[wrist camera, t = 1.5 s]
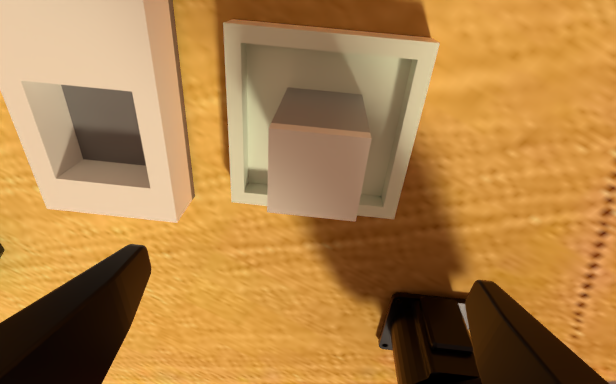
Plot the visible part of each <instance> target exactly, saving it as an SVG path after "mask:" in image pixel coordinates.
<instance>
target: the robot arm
mask: <svg viewBox="0 0 616 384" xmlns="http://www.w3.org/2000/svg"><path fill="white" fill-rule="evenodd" d="M150 274H151V264H150V260H149V255H148V251H147V248H146V247H145V246H143V245H135V244H130V245H127V246H125V247H124V248H122V249H121V250H119V251H117V252H116V253H114V254H112V255H111V256H109V257H107V258H106V259H104V260H103V261H101V262H99V263H98V264H96V265H94V266H93V267H91V268H89V269H88V270H86V271H85V272H83V273H81V274H80V275H78V276H76V277H75V278H73V279H71V280H70V281H68V282H67V283H65V284H63V285H62V286H60V287H58V288H57V289H55V290H54V291H52V292H50V293H49V294H47V295H45V296H44V297H42V298H40V299H39V300H37V301H36V302H34V303H32V304H31V305H29V306H27V307H26V308H24V309H22V310H21V311H19V312H18V313H16V314H14V315H13V316H11V317H9V318H8V319H6V320H4V321H3V322H1V323H0V384H102V382H103V380H104V378H105V376H106V374H107V372H108V370H109V368H110V366H111V364H112V362H113V360H114V358H115V356H116V355H117V353H118V351H119V349H120V347H121V345H122V343H123V341H124V339H125V337H126V335H127V333H128V331H129V329H130V327H131V324H132V322H133V319H134V317H135V314H136V311H137V309H138V306H139V303H140V301H141V298H142V296H143V293H144V290H145V288H146V285H147V282H148V280H149V277H150ZM468 330H470V334H469V331H468ZM470 335H471V337H470ZM379 347H380V348H382V349H387V350H393V355H394V362H395V368H396V375H397V382H398V384H609V383H608V382H607V381H605V380H604V379H603V378H602V377H601V376H600V375H599V374H598V373H596V372H595V371H594V370H593V369H592V368H591V367H590V366H588V365H587V364H586V363H585V362H584V361H583V360H582V359H581V358H579V357H578V356H577V355H576V354H575V353H574V352H573V351H571V350H570V349H569V348H568V347H567V346H566V345H565V344H564V343H562V342H561V341H560V340H559V339H558V338H557V337H556V336H554V335H553V334H552V333H551V332H550V331H549V330H548V329H547V328H545V327H544V326H543V325H542V324H541V323H540V322H539V321H538V320H536V319H535V318H534V317H533V316H532V315H531V314H530V313H528V312H527V311H526V310H525V309H524V308H523V307H522V306H521V305H519V304H518V303H517V302H516V301H515V300H514V299H513V298H511V297H510V296H509V295H508V294H507V293H506V292H505V291H504V290H502V289H501V288H500V287H499V286H498V285H497V284H496V283H494V282H492V281H486V280H477V281H475V283H474V284H473V286H472V288H471V290H470V292H469V294H468V296H467V298H466V300H462V299H453V298H444V297H435V296H426V295H417V294H408V293H395V294H393V295H392V297H391V301H390V304H389V308H388V311H387V314H386V318H385V321H384V324H383V328H382V331H381V334H380V338H379Z"/></svg>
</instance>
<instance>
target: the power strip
mask: <svg viewBox="0 0 616 384" xmlns="http://www.w3.org/2000/svg"><path fill="white" fill-rule="evenodd" d="M0 90H1V93H2V95H3V98H4V100H5V103H6V106H7V108H8V111H9V113H10V116H11V118H12V121H13V123H14V126H15V128H16V131H17V134H18V136H19V139H20V141H21V144H22V146H23V149H24V151H25V154H26V157H27V159H28V162H29V164H30V167H31V169H32V172H33V174H34V177H35V180H36V182H37V185H38V187H39V190H40V192H41V195H42V197H43V200H44V203H45V205H46V208H47V209H55V210H64V211H73V212H83V213H92V214H101V215H111V216H120V217H129V218H139V219H148V220H157V221H167V222H176V223H177V222H178V221H179V219H180V218H181V216H182V215H183V213H184V212H185V210H186V209H187V207H188V206H189V204H190V202H191V201H192V199H193V198H194V196H195V194H194V185H193V176H192V168H191V159H190V150H189V141H188V132H187V124H186V115H185V106H184V97H183V89H182V80H181V71H180V62H179V54H178V45H177V36H176V27H175V19H174V10H173V1H172V0H0Z"/></svg>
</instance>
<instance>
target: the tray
mask: <svg viewBox="0 0 616 384" xmlns="http://www.w3.org/2000/svg"><path fill="white" fill-rule="evenodd" d="M223 32H224V53H225V74H226V95H227V116H228V137H229V158H230V179H231V200H232V202H235V203H244V204H254V205H263V206H267V191H268V135H269V126H270V124H271V122H272V120H273V118H274V116H275V113H276V111H277V109H278V107H279V105H280V103H281V101H282V98H283V96H284V94H285V92H286V90H287V88H288V87H290V88H300V89H310V90H320V91H331V92H341V93H351V94H361V95H362V96H363V101H364V106H365V111H366V115H367V120H368V125H369V130H370V134H371V143H370V149H369V154H368V159H367V165H366V170H365V175H364V181H363V186H362V191H361V197H360V202H359V208H358V213H357V215H358V216H367V217H377V218H386V219H394V218H395V214H396V210H397V206H398V202H399V199H400V195H401V191H402V187H403V183H404V179H405V175H406V171H407V168H408V164H409V160H410V156H411V152H412V148H413V144H414V141H415V137H416V133H417V129H418V125H419V121H420V117H421V114H422V110H423V106H424V102H425V98H426V94H427V90H428V87H429V83H430V79H431V75H432V71H433V67H434V63H435V59H436V56H437V52H438V48H439V44H440V43H439V42H437V41H436V40H434V39H432V38H429V37H418V36H408V35H397V34H386V33H376V32H365V31H354V30H344V29H333V28H323V27H312V26H301V25H291V24H280V23H269V22H259V21H248V20H237V19H231V20H229V21H226V22H223Z"/></svg>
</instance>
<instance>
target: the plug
mask: <svg viewBox="0 0 616 384" xmlns="http://www.w3.org/2000/svg"><path fill="white" fill-rule="evenodd" d="M370 143H371V134H370V130H369V125H368V120H367V115H366V111H365V106H364V101H363V96H362V95H361V94H351V93H341V92H331V91H320V90H310V89H300V88H290V87H288V88H287V90H286V92H285V94H284V96H283V98H282V101H281V103H280V105H279V107H278V109H277V111H276V113H275V116H274V118H273V120H272V122H271V124H270V126H269V135H268V191H267V212H270V213H280V214H289V215H299V216H308V217H317V218H327V219H336V220H346V221H355V222H356V218H357V213H358V208H359V202H360V197H361V191H362V186H363V181H364V175H365V170H366V165H367V159H368V154H369V149H370Z"/></svg>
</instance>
